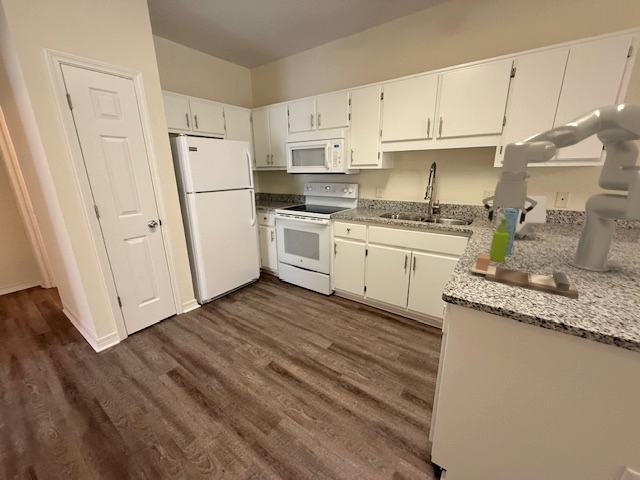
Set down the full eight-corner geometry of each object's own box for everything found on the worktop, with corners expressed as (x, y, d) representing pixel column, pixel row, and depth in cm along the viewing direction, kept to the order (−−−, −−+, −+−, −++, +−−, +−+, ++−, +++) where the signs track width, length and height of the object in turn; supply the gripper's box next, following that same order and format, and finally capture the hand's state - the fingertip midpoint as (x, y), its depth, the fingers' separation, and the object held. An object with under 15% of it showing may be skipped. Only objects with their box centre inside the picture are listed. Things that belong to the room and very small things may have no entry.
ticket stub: (496, 268, 108) (498, 255, 106) (494, 276, 100) (497, 262, 99) (474, 264, 112) (476, 251, 111) (471, 271, 105) (473, 258, 103)
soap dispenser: (500, 258, 125) (509, 216, 120) (505, 262, 119) (514, 219, 114) (486, 256, 127) (494, 216, 122) (490, 261, 121) (498, 218, 115)
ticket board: (570, 284, 97) (573, 274, 96) (577, 299, 86) (581, 287, 85) (488, 269, 111) (489, 259, 110) (485, 279, 101) (487, 269, 99)
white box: (504, 236, 154) (506, 195, 155) (493, 239, 169) (495, 201, 171) (545, 239, 149) (546, 196, 151) (529, 241, 165) (531, 202, 166)
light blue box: (508, 255, 129) (518, 209, 123) (496, 253, 132) (505, 208, 126) (512, 247, 143) (521, 205, 137) (501, 245, 146) (509, 204, 140)
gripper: (541, 177, 96) (532, 222, 101) (486, 177, 106) (480, 218, 111) (543, 178, 90) (533, 226, 95) (484, 178, 100) (478, 221, 105)
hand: (505, 222), depth 103 cm, fingers open, 9 cm apart
